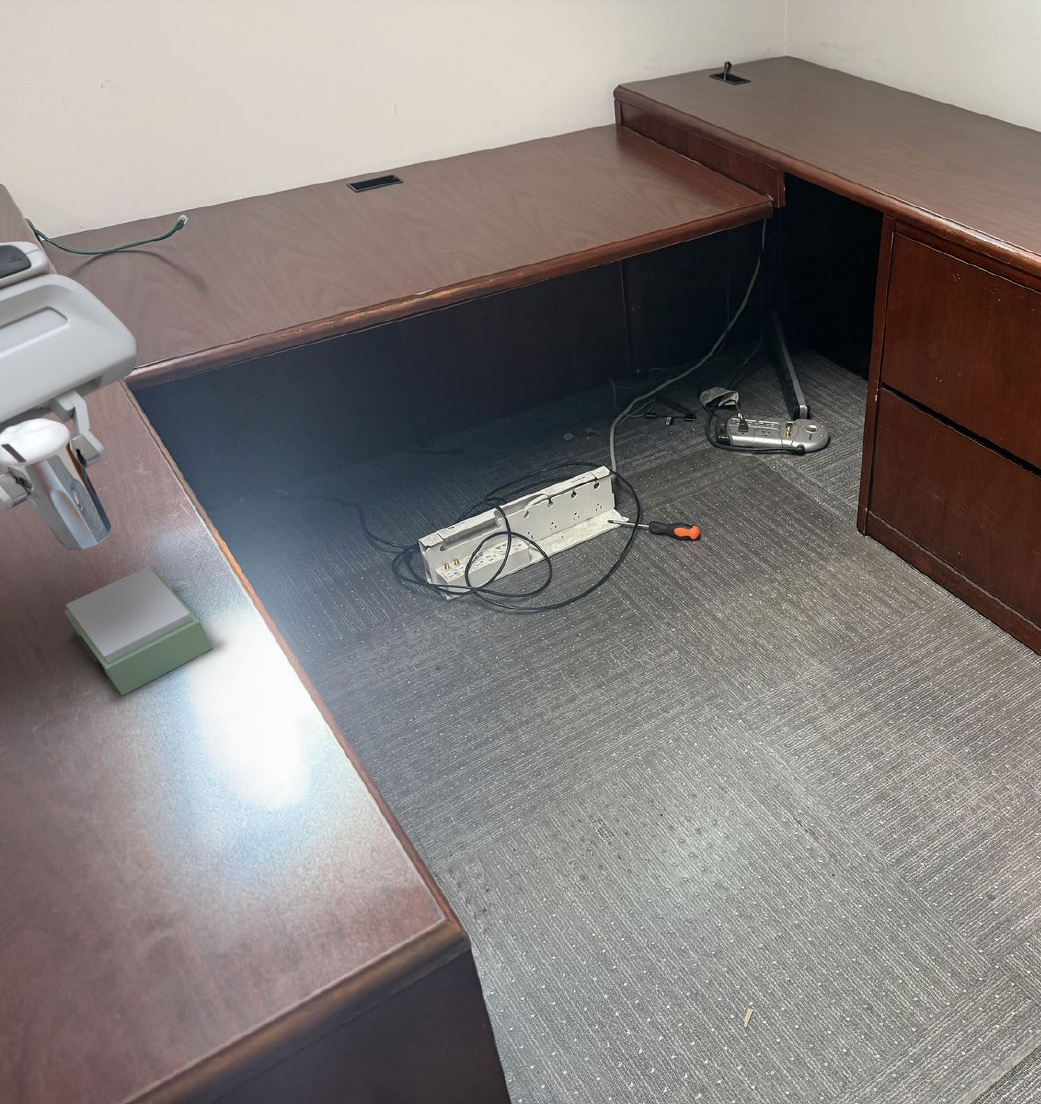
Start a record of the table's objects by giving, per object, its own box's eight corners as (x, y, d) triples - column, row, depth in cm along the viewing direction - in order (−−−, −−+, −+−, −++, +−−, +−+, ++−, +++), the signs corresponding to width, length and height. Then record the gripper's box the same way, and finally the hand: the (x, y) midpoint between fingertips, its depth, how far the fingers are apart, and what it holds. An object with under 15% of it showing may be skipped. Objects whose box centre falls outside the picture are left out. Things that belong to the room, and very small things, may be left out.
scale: (119, 698, 76) (97, 663, 74) (77, 639, 81) (56, 605, 78) (213, 648, 80) (195, 613, 77) (167, 595, 85) (150, 561, 82)
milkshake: (42, 570, 69) (-37, 451, 62) (58, 523, 73) (-14, 406, 66) (114, 556, 70) (43, 437, 63) (126, 510, 74) (61, 393, 67)
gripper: (-295, 362, 56) (-109, 552, 59) (56, 233, 69) (197, 393, 72) (-277, 408, 61) (-105, 583, 63) (49, 280, 74) (181, 428, 76)
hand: (58, 481), depth 68 cm, fingers closed on milkshake, 4 cm apart
